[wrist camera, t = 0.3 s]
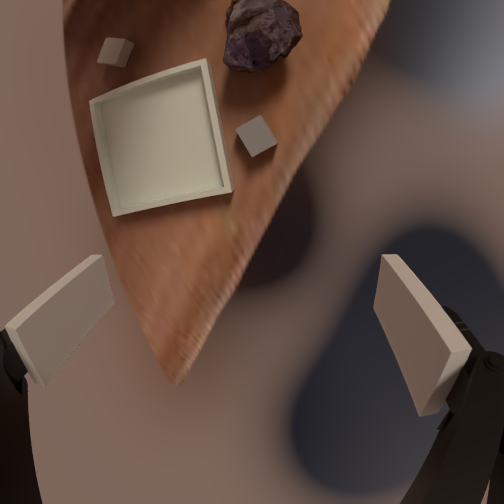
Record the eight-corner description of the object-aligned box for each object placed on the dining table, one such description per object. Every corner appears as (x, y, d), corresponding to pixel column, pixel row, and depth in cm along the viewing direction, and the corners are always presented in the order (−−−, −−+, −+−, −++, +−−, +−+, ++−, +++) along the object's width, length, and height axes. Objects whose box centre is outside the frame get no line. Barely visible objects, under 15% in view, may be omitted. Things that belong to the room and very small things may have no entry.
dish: (98, 101, 34) (89, 100, 32) (210, 63, 32) (206, 58, 30) (121, 212, 41) (113, 216, 38) (234, 188, 38) (231, 192, 36)
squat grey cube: (238, 130, 35) (234, 129, 32) (262, 116, 34) (260, 114, 32) (254, 156, 36) (252, 157, 34) (277, 143, 35) (277, 143, 33)
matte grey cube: (116, 42, 31) (106, 37, 28) (134, 43, 31) (125, 38, 28) (107, 65, 32) (96, 62, 30) (125, 68, 33) (115, 64, 30)
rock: (221, 72, 33) (297, 78, 33) (203, 66, 26) (299, 73, 25) (229, -3, 27) (305, 2, 27) (213, -24, 20) (308, -20, 19)
